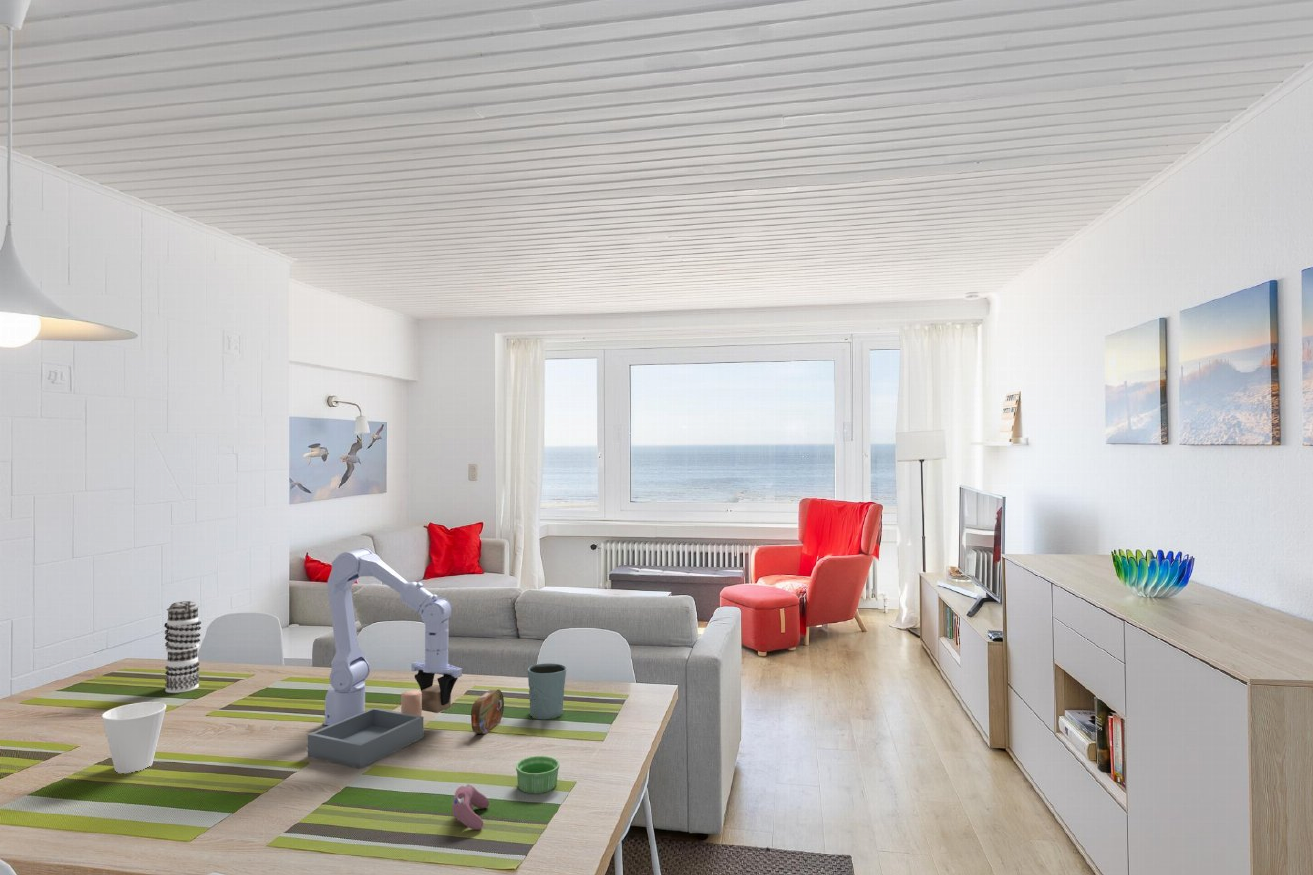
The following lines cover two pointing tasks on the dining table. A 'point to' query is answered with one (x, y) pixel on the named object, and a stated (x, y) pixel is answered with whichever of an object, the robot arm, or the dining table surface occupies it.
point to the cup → (133, 734)
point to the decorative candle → (182, 647)
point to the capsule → (411, 702)
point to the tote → (365, 737)
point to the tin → (487, 711)
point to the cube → (433, 700)
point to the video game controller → (469, 806)
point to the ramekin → (537, 774)
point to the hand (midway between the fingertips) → (436, 702)
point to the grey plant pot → (546, 690)
